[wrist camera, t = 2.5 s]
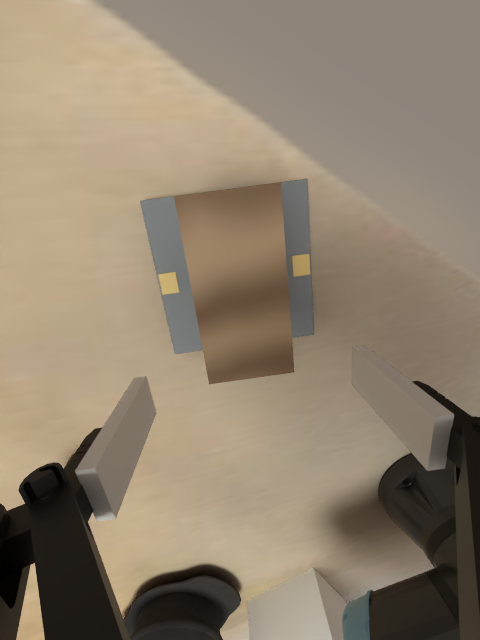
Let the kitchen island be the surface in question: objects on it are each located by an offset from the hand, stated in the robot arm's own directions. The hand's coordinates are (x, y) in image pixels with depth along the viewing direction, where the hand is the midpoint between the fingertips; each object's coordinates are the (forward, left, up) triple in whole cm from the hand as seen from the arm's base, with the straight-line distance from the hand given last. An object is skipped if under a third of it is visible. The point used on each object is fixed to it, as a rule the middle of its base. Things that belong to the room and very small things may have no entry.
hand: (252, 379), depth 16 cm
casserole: (+19, +57, -18) cm, 63 cm away
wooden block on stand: (0, -5, -16) cm, 17 cm away
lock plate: (0, -5, -17) cm, 18 cm away
